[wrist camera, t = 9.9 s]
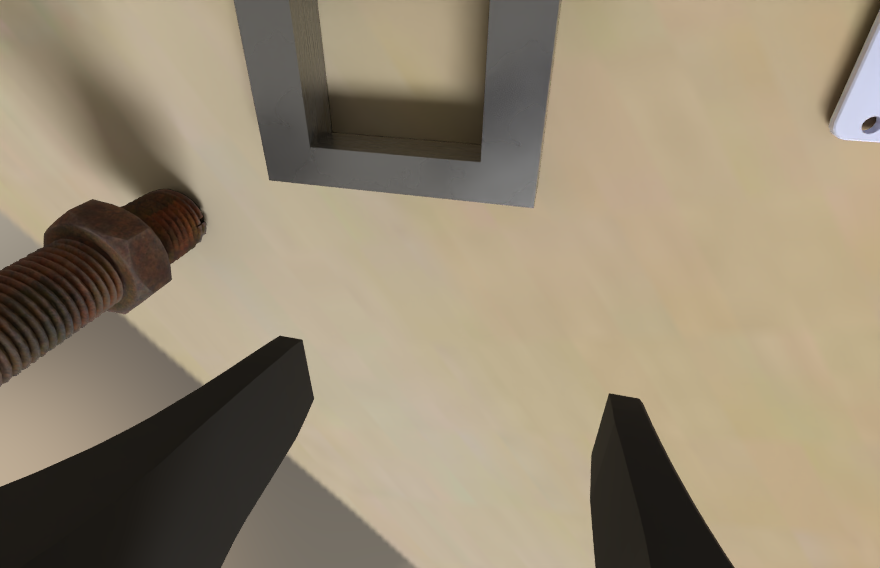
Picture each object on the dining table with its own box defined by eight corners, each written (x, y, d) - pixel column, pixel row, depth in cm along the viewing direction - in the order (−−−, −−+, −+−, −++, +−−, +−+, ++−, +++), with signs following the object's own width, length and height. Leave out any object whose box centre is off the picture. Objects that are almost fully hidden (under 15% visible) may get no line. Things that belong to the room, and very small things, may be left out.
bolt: (115, 158, 23) (-410, 370, 11) (203, 157, 22) (-279, 395, 10) (163, 263, 26) (-204, 520, 14) (242, 267, 25) (-83, 554, 13)
